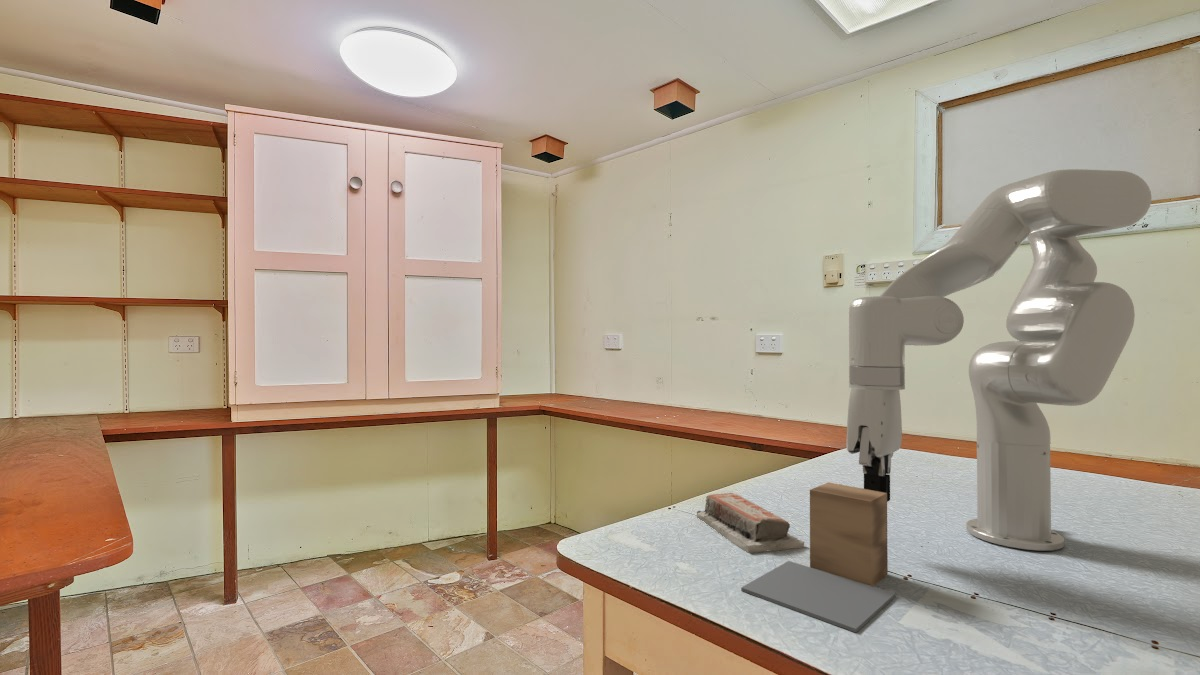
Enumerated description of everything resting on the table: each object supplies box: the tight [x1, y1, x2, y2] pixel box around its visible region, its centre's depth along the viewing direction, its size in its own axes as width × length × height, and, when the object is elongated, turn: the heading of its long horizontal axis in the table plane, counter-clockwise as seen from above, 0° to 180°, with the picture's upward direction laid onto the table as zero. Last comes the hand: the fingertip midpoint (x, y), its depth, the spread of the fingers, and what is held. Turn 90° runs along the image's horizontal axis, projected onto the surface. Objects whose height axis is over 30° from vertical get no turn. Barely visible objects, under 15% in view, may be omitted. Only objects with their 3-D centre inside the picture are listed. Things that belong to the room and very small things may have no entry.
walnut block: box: [809, 482, 889, 587], centre depth 75 cm, size 6×8×11 cm
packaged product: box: [696, 492, 805, 554], centre depth 91 cm, size 18×5×10 cm
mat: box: [740, 560, 897, 633], centre depth 68 cm, size 12×14×1 cm
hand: (876, 500), depth 82 cm, fingers closed
